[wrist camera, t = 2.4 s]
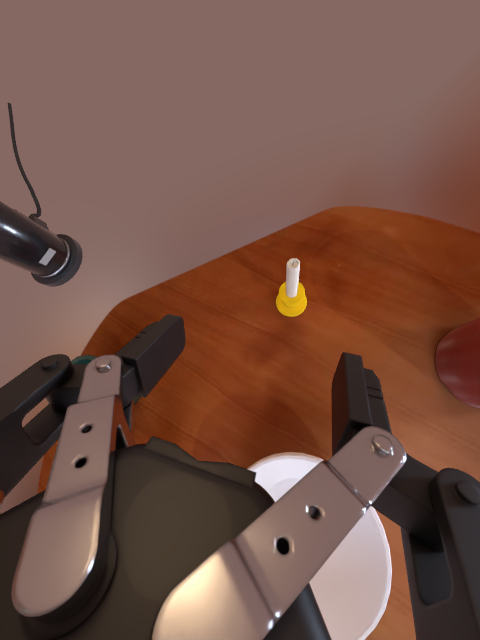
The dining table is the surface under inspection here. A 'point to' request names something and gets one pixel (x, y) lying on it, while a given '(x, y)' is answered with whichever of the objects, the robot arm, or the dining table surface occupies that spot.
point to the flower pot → (461, 362)
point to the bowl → (339, 557)
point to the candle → (291, 292)
